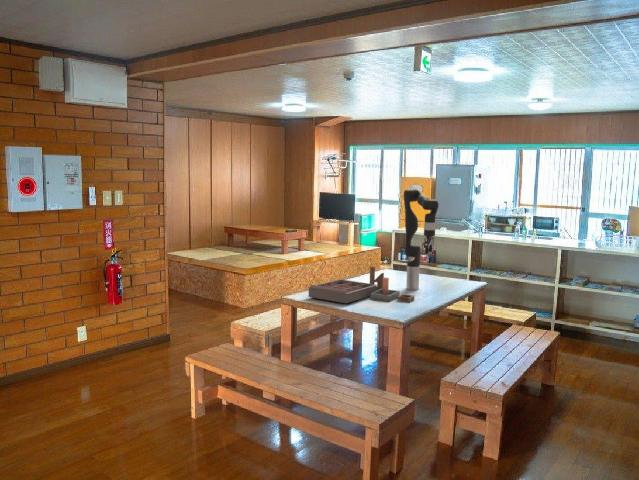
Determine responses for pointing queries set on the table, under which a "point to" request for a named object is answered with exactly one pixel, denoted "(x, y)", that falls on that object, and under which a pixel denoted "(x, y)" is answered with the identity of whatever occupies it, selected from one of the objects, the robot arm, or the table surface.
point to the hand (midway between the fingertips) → (428, 252)
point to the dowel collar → (406, 298)
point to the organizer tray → (341, 291)
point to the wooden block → (378, 279)
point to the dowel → (385, 286)
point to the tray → (378, 295)
